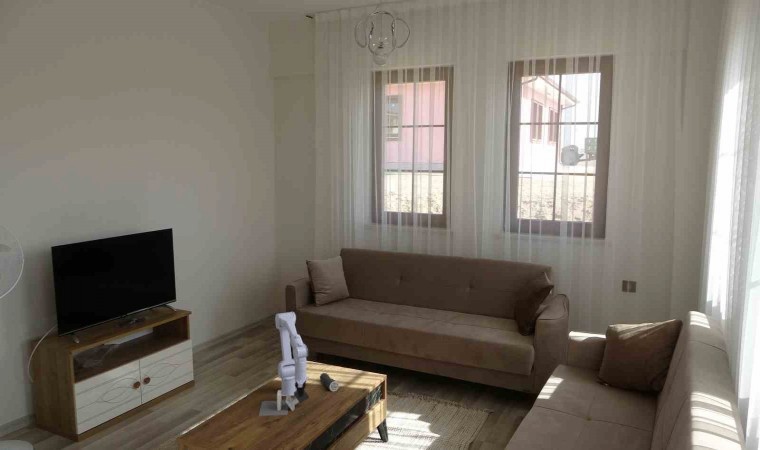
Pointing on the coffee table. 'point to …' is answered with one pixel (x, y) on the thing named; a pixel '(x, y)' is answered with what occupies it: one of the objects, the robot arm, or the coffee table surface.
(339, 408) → the coffee table surface
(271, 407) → the mat
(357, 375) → the coffee table surface
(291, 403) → the mounted block
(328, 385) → the flashlight
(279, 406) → the cream rectangular block
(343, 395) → the coffee table surface
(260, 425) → the coffee table surface
